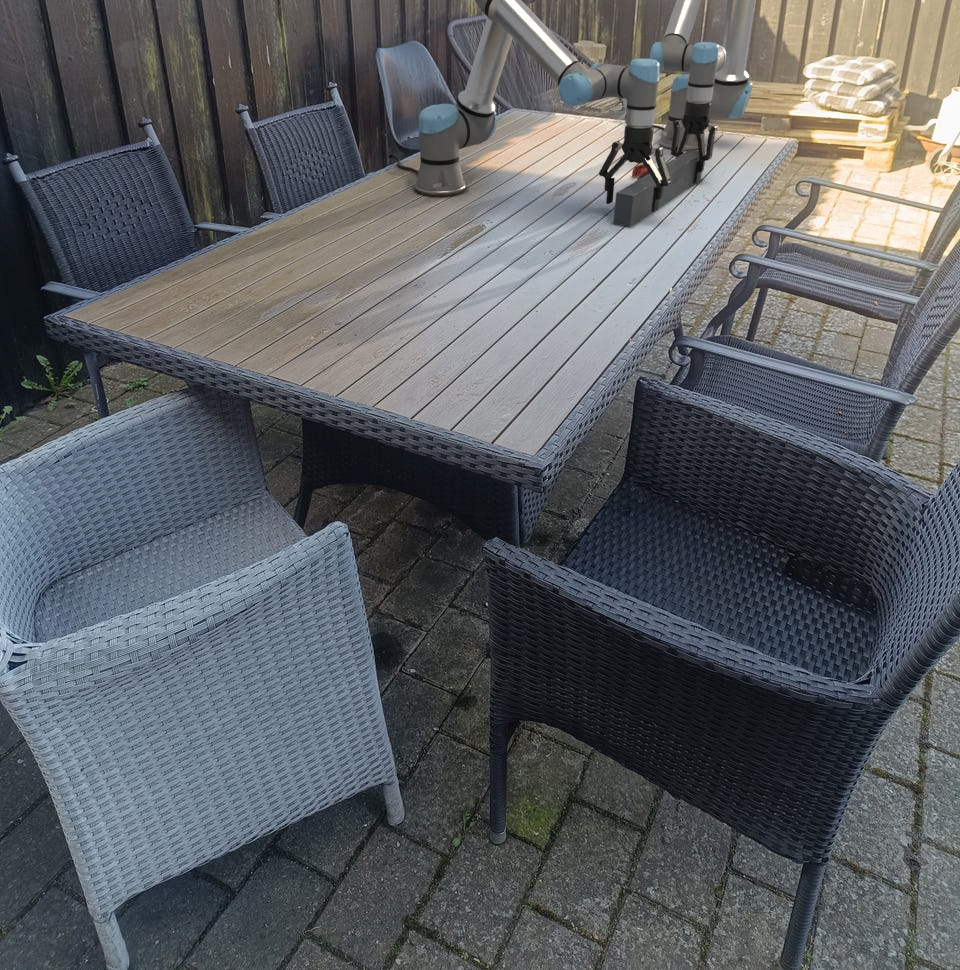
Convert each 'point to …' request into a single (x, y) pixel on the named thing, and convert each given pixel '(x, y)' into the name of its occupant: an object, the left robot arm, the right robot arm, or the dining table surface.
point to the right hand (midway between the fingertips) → (687, 180)
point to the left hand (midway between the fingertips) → (631, 206)
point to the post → (639, 195)
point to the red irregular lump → (640, 171)
